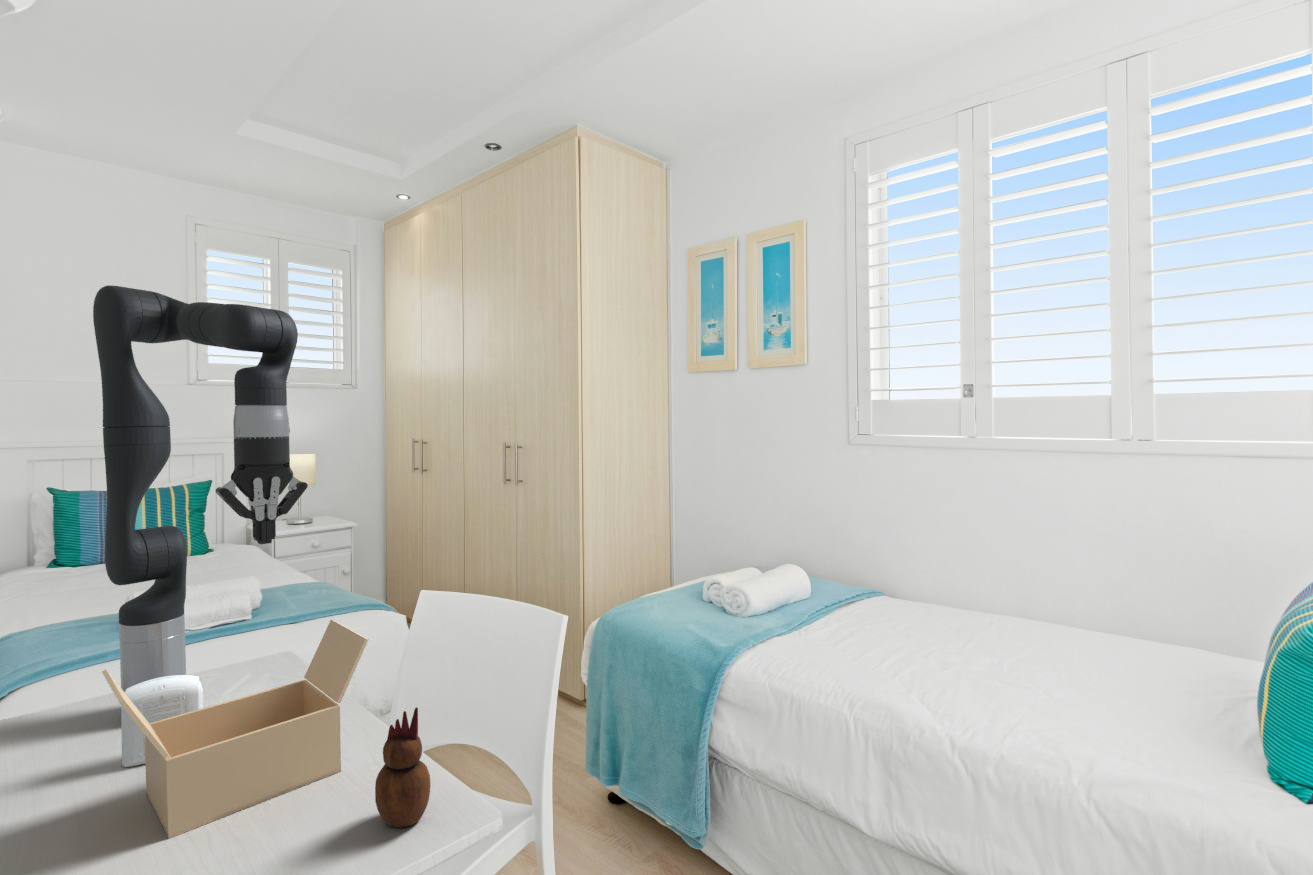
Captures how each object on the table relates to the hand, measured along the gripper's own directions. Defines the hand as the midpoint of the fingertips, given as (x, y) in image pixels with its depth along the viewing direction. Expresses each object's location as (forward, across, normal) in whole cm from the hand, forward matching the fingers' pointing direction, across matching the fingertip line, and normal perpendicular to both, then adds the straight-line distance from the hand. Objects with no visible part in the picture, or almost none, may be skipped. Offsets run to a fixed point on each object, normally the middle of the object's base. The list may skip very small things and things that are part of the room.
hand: (264, 543), depth 103 cm
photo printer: (+33, +12, -9) cm, 36 cm away
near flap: (+18, +18, +9) cm, 27 cm away
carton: (+33, +6, +9) cm, 35 cm away
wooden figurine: (+33, -6, +34) cm, 48 cm away
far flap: (+18, -7, +9) cm, 21 cm away
